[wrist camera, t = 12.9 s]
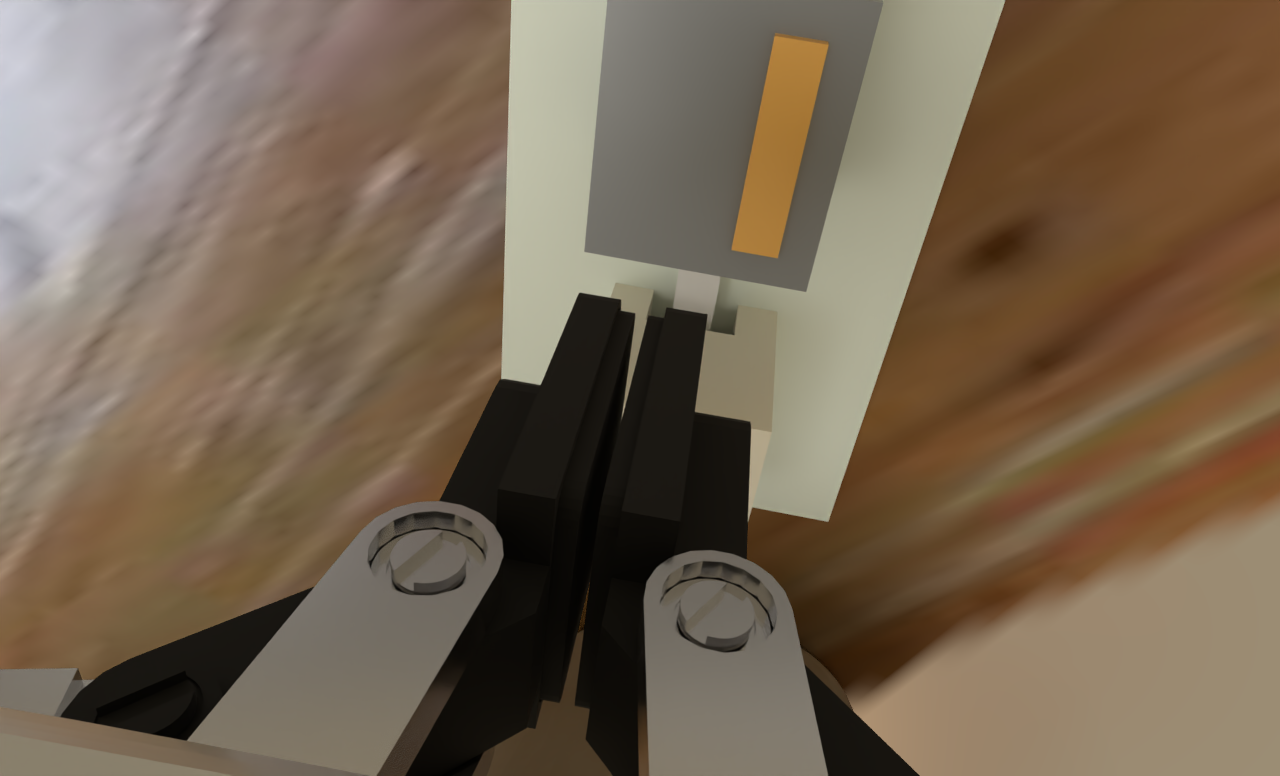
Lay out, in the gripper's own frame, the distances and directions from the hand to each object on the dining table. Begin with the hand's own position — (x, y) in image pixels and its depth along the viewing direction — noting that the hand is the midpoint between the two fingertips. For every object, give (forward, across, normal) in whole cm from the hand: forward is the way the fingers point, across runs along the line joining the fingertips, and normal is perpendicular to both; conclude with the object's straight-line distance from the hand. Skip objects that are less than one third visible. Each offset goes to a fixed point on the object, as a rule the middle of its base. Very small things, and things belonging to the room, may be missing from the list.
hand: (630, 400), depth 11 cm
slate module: (+14, -1, -1) cm, 14 cm away
